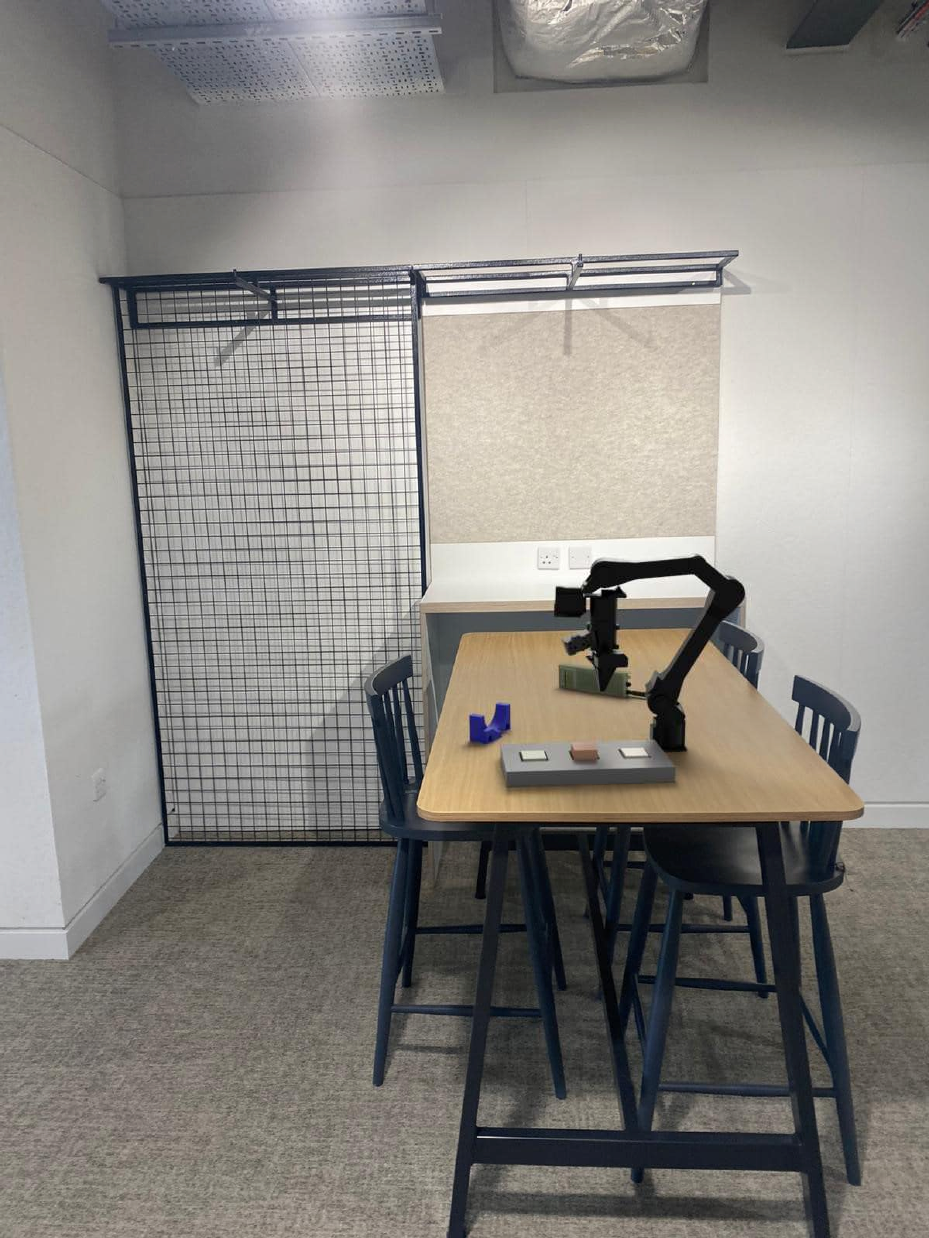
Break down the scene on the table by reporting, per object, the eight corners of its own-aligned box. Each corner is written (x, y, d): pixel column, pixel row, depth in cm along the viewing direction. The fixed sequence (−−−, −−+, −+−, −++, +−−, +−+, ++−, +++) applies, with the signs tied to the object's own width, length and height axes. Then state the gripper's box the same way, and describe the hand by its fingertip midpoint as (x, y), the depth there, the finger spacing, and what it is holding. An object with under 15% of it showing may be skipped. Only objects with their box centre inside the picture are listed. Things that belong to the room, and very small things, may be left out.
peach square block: (593, 751, 173) (593, 742, 172) (597, 759, 168) (597, 749, 168) (571, 752, 172) (571, 742, 172) (574, 760, 168) (574, 750, 168)
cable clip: (486, 744, 187) (486, 718, 186) (469, 741, 190) (469, 715, 189) (516, 730, 197) (515, 704, 196) (499, 727, 199) (499, 702, 198)
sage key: (543, 759, 172) (543, 750, 172) (546, 767, 168) (546, 758, 168) (521, 760, 172) (521, 751, 172) (523, 768, 168) (523, 758, 168)
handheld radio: (563, 685, 235) (649, 698, 221) (557, 688, 232) (644, 701, 218) (562, 661, 233) (649, 672, 219) (556, 664, 231) (644, 676, 217)
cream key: (642, 757, 173) (643, 747, 173) (648, 765, 169) (648, 755, 168) (620, 757, 173) (620, 748, 173) (625, 765, 168) (625, 755, 168)
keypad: (654, 753, 179) (654, 739, 178) (675, 781, 163) (675, 766, 163) (500, 757, 178) (500, 744, 178) (506, 786, 162) (506, 771, 162)
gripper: (556, 611, 188) (556, 681, 191) (574, 628, 170) (573, 704, 173) (607, 610, 189) (605, 679, 192) (629, 626, 171) (627, 702, 174)
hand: (601, 691), depth 183 cm, fingers closed
